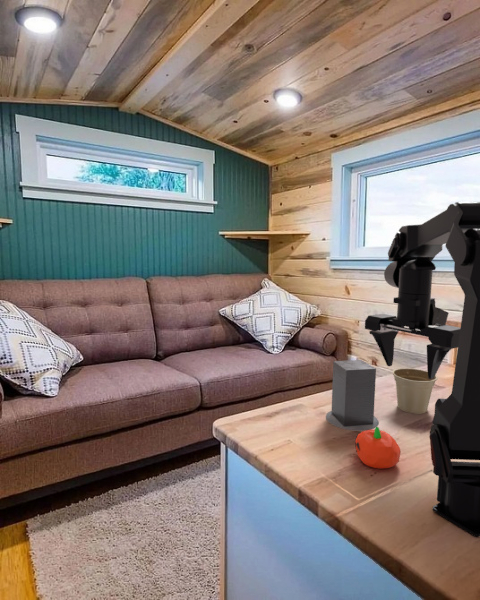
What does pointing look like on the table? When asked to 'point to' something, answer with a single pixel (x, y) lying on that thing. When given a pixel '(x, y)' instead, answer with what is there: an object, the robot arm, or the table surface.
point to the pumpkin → (377, 449)
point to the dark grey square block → (353, 392)
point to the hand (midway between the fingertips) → (409, 371)
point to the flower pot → (413, 389)
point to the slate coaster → (335, 422)
